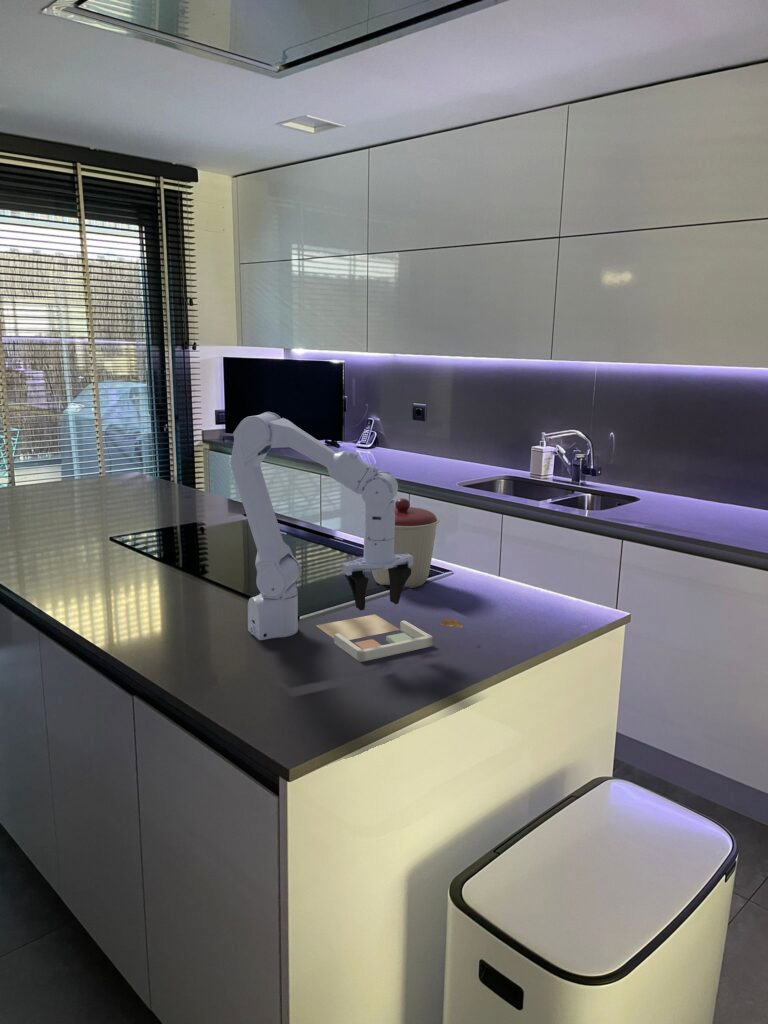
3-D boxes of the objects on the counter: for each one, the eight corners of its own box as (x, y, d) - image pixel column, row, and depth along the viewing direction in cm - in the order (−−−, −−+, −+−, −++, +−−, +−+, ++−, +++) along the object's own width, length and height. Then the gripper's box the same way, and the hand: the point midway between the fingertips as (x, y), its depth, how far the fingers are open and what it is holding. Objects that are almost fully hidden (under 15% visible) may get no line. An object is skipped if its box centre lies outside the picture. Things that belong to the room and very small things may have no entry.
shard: (439, 614, 170) (440, 607, 170) (474, 618, 168) (474, 610, 168) (429, 632, 160) (430, 623, 160) (466, 636, 158) (467, 628, 158)
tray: (359, 668, 140) (360, 652, 140) (334, 648, 149) (334, 634, 148) (432, 651, 149) (433, 636, 148) (404, 634, 157) (404, 620, 156)
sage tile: (396, 650, 147) (397, 643, 147) (386, 643, 151) (386, 636, 150) (414, 646, 149) (414, 639, 149) (403, 639, 153) (403, 632, 152)
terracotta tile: (364, 657, 144) (364, 650, 143) (354, 650, 147) (354, 642, 147) (383, 653, 146) (383, 646, 145) (372, 646, 149) (372, 639, 149)
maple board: (338, 647, 149) (338, 642, 149) (315, 631, 158) (315, 625, 157) (400, 635, 156) (400, 629, 156) (374, 619, 165) (374, 614, 165)
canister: (443, 576, 196) (447, 494, 192) (428, 598, 179) (431, 509, 175) (375, 569, 201) (376, 489, 196) (353, 590, 184) (355, 503, 179)
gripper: (356, 546, 139) (354, 618, 142) (423, 537, 146) (420, 605, 149) (337, 537, 145) (336, 606, 148) (402, 529, 152) (400, 595, 155)
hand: (377, 605), depth 149 cm, fingers open, 7 cm apart
